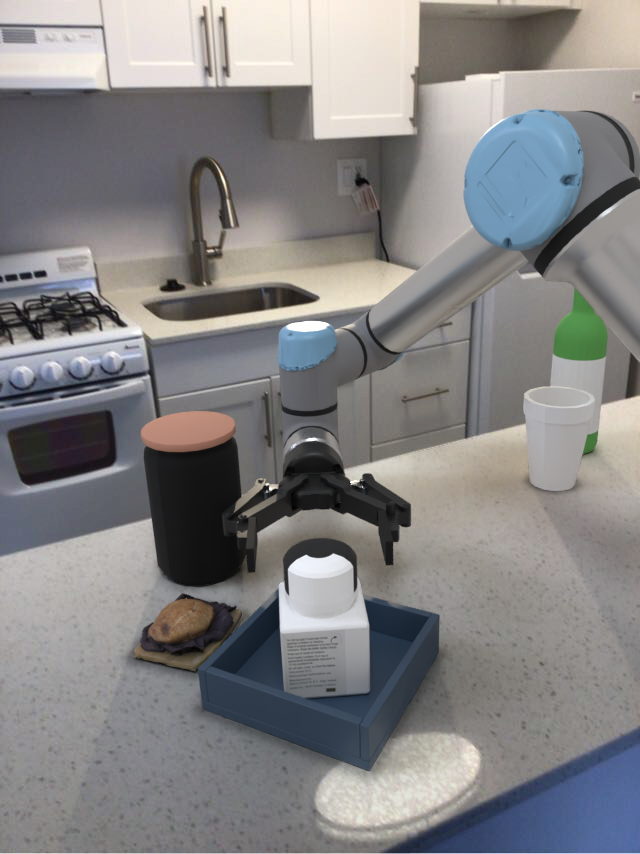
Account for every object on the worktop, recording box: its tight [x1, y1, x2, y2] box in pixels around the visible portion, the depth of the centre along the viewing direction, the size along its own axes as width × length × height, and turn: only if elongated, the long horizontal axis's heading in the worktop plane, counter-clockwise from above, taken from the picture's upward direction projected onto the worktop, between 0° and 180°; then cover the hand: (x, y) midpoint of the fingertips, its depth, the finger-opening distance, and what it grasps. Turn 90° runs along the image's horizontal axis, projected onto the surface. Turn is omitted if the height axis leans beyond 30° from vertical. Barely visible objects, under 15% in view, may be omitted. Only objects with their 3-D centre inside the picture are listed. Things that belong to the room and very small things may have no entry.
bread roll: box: [132, 593, 242, 672], centre depth 78 cm, size 11×8×4 cm
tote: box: [197, 587, 441, 772], centre depth 71 cm, size 17×17×4 cm
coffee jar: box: [140, 410, 246, 587], centre depth 88 cm, size 11×11×18 cm
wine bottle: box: [549, 287, 609, 455], centre depth 116 cm, size 8×8×30 cm
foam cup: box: [522, 385, 595, 492], centre depth 107 cm, size 10×9×13 cm
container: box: [278, 537, 370, 699], centre depth 69 cm, size 8×8×13 cm
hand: (320, 557), depth 74 cm, fingers open, 13 cm apart
